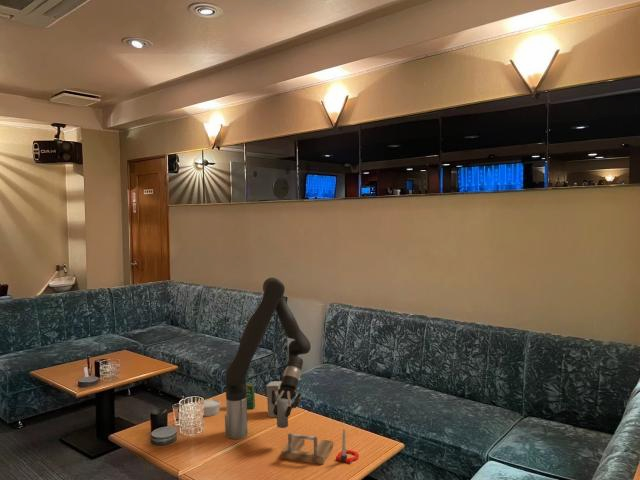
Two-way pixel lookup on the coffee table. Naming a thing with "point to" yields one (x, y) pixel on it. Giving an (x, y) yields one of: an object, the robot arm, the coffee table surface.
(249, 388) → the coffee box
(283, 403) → the grey tapered capsule
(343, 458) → the tow hook
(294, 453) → the wooden gate frame
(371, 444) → the coffee table surface
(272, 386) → the skincare box
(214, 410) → the ramekin
